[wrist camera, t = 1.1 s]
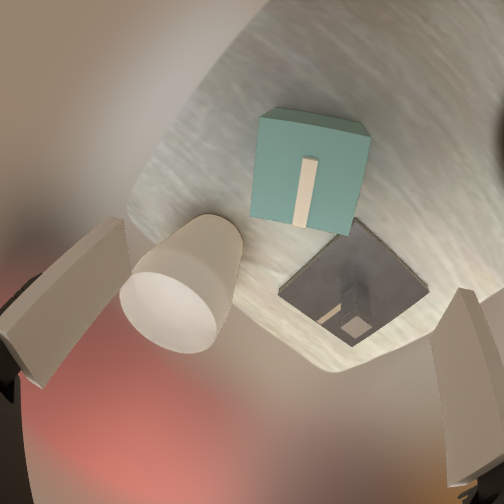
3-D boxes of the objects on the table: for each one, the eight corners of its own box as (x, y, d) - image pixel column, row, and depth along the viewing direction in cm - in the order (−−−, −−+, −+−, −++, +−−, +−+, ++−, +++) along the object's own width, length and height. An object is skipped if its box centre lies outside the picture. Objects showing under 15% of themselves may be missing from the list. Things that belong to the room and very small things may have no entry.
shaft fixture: (355, 217, 28) (359, 250, 24) (427, 286, 30) (439, 324, 25) (279, 289, 35) (269, 326, 30) (352, 341, 37) (351, 379, 32)
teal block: (276, 107, 25) (257, 118, 19) (361, 122, 24) (372, 139, 18) (267, 184, 29) (247, 219, 23) (345, 200, 28) (348, 240, 22)
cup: (161, 231, 35) (102, 297, 25) (214, 186, 30) (156, 249, 20) (213, 287, 37) (174, 363, 27) (272, 252, 33) (243, 336, 23)
